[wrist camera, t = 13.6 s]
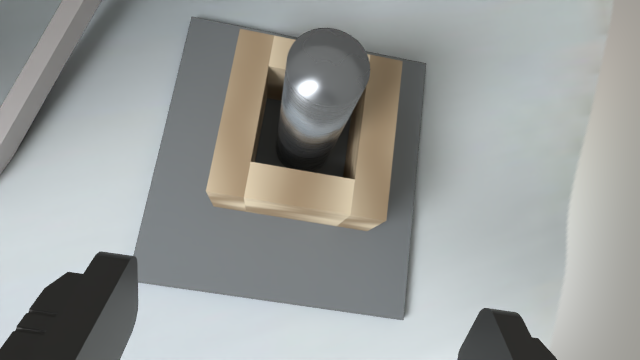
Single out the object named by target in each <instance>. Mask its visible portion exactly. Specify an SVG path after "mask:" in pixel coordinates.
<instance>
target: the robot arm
mask: <svg viewBox="0 0 640 360" xmlns="http://www.w3.org/2000/svg"><path fill="white" fill-rule="evenodd" d="M137 311H138V264H137V258H136V257H135V256H129V255H122V254H115V253H108V252H99V253H97V254H96V256H95V257H94V258H93V260H92V261H91V263H90V265H89V266H88V268H87V269H86V271H85V272H84V274H79V273H72V272H67V273H66V274H64V275H63V276H61V277H60V278H59V279H57V280H56V281H54V282H53V283H51V284H50V285H49V286H47V287H46V288H44V290H43V291H42V293H41V294H40V295H39V297H38V298H37V299H36V301H35V302H34V304H33V305H32V306H31V308H30V309H29V313H26V314H25V316H24V317H23V319H22V320H21V321H20V323H19V324H18V325H17V328H16V331H13V332H12V334H11V335H10V336H9V338H8V339H7V340H6V342H5V343H4V345H3V346H2V347H1V349H0V360H120V358H121V356H122V354H123V351H124V349H125V347H126V345H127V342H128V340H129V338H130V336H131V333H132V331H133V328H134V325H135V321H136V317H137ZM458 360H557V359H556V358H555V356H554V355H553V354H552V353H551V352H550V351H549V350H548V349H547V348H546V347H545V345H544V344H543V343H542V342H541V341H540V340H539V339H538V338H532V337H531V335H530V333H529V331H528V329H527V327H526V325H525V323H524V321H523V319H522V317H521V316H520V315H519V314H518V313H516V312H510V311H503V310H496V309H489V308H484V309H482V310H481V311H480V312H479V314H478V316H477V318H476V320H475V322H474V323H473V325H472V327H471V329H470V331H469V333H468V335H467V337H466V339H465V340H464V342H463V344H462V346H461V348H460V351H459V354H458Z"/></svg>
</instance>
